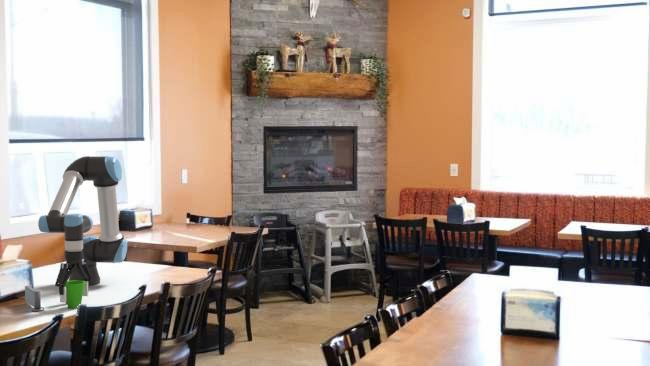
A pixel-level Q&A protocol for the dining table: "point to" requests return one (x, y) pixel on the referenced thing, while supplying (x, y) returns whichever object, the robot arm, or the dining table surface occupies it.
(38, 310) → the hinge base
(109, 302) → the dining table surface
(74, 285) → the cup
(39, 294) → the gate
